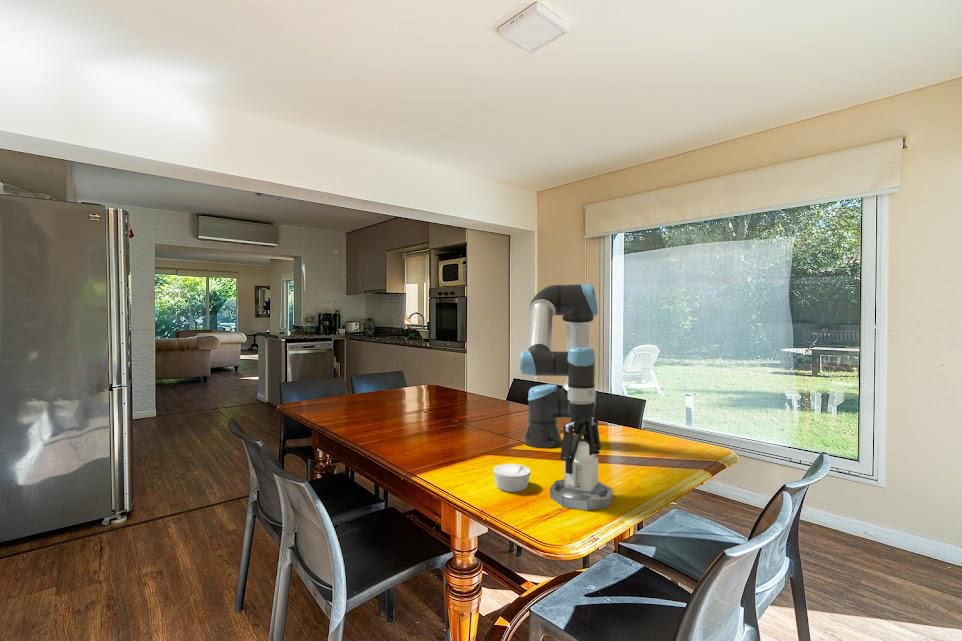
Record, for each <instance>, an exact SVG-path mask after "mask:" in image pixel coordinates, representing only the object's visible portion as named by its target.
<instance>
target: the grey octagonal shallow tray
mask: <svg viewBox="0 0 962 641" xmlns="http://www.w3.org/2000/svg"><path fill="white" fill-rule="evenodd" d="M613 493H614V491H613V488H611V487H610V486H609V485H606V484H605V483H603V482H602V481H599V480H598V484H597V485H596V486H595V487H594V489H593V490H592V491H591V492H587V491H582V490H577V489H572V488H567V487H564V478H563V479H558V480H555V481H554V482H553V483H552V485H551V486H550V488H549V498H550V499H552V500H553V501H554V502H556V503H557V504H558V505H560V506H561V507H563V508H570V509H575V510H576V509H577V510H581V511H593V510H594V511H595V510H599V509H604V508H605V509H606V508H610V506H611V503H612V501H613V498H614V496H613Z"/></svg>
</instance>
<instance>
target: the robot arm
mask: <svg viewBox="0 0 962 641" xmlns="http://www.w3.org/2000/svg"><path fill="white" fill-rule="evenodd" d="M598 313H599V312H598V302H597V295H596V289H595V287H594V286H593V285H591V284H582V283H581V284H580V283H579V284H578V283H577V284H552V285H549V286H548V285H547V286H546V287H544V288H543V289H541V290H539V291H538V292H537V293H536V294H535V296H533V298H532V300H531V302H530V304H529V315H530V317H531V318H530V327H529V337H528V343H527V344H528V345H527V350H525V351H524V350H523V351H521V352H520V354H519V370H520V373H521V374H522V375H525V376H533V377H537V376H538V377H539V376H546V377H547V376H551V377H552V376H553V377H566V381H565V382H564V383H563V384H562V388H558V386H557V385H556V384H550V383H549V384H540V385H536V386H532V387H530V388H529V390H528V398H527V401H528V415H527V416H528V423H527V427H526V431H525V433H524V436H523V441H524V442H525V443H526V444H525V443H524V444H525V445H527V444H528V445H527V446H529V445H530V446H529V447H533V446H534V448H539V447H541V449H543V448H544V449H546V448H547V449H548V448H549V447H551V448H555V447H556V446H557V447H559V446H561V451H560V456H559V458H560V460H561V461H565V462H566V484H569V485H572V486H576V462H574V458H575V455H576V451H577V447H578V444H579V440H580V439H581V438H582V439H588V440H590V441H592V443H593V457H597V455H600V451H601V449H602V448H601V439H600V432H599V427H598V426H599V417H598V418H597V417H594V416H595V414H596V412H595V411H596V403H597V401H596V400H597V391H596V389H595V386H596V384H595V376H596V375H595V373H596V370H595V369H596V368H595V367H596V354H595V350H594V348H593V347H590V324H591V323H593V322H594V317H596V316H598V315H599V314H598ZM555 316H562V321H563V323H565V324H566V351H556V350H555V351H553V350H552V342H553V339H552V338H553V318H554V317H555ZM560 418H561V419H570V421H569V422H570V423H564V424H563V427H562V428H563V436H562V435H561V432H560V430H559V425H558V419H560ZM549 449H550V448H549ZM570 456H571V458H570Z"/></svg>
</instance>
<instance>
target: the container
mask: <svg viewBox="0 0 962 641" xmlns="http://www.w3.org/2000/svg"><path fill="white" fill-rule="evenodd" d="M570 458H571V456H570ZM563 461H564V460H563ZM574 462H576V486H572V485H569V484H566V462H565V461H564V462H563V466H564V468H563V471H564V472H563V474H564V475H563V476H564V478H563V479H564V487H567V488H572V489H577V490H582V491H587V492H591V491H592V490H593V489H594V487H595V486H596V485H597V484H598V481H599V457H597V456H596V457H593V443H592V441H590V440H588V439H584V438H583V437H582V438H581V439H580V440H579V444H578V447H577V451H576V455H575V458H574Z"/></svg>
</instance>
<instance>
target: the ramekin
mask: <svg viewBox="0 0 962 641" xmlns="http://www.w3.org/2000/svg"><path fill="white" fill-rule="evenodd" d="M493 474H494V481H495V486H496V487H497V488H498V490H500V491H504V492H507V493H508V492H509V493H519V492H522V491H524V490H526V489H527V488H528V485H529V480H530V475H531V469H530V468H529V467H527V466H526V465H523V464H518V463H517V464H516V463H504V464H498V465H496V466H494V467H493Z"/></svg>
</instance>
